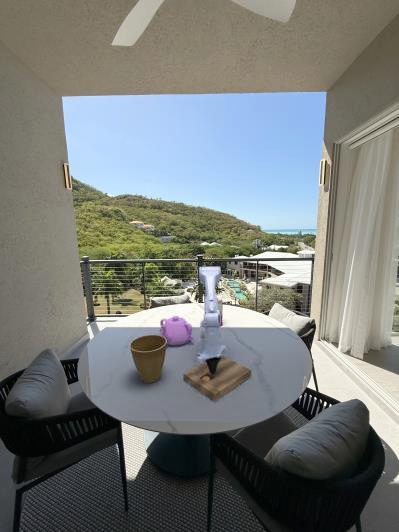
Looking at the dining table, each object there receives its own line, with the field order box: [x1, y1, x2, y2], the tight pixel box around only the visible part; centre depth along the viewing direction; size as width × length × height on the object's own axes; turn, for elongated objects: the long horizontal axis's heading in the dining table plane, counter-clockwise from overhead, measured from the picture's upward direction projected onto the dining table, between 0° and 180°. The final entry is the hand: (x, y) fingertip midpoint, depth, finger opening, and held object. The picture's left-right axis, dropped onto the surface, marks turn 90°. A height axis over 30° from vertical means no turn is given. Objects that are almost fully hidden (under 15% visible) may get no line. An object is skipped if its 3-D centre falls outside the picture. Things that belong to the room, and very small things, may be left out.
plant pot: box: [129, 334, 168, 384], centre depth 106 cm, size 15×15×16 cm
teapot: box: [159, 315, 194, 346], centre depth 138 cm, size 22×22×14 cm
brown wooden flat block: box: [182, 355, 252, 402], centre depth 106 cm, size 18×22×3 cm
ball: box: [202, 376, 211, 383], centre depth 102 cm, size 4×4×4 cm
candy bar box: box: [218, 298, 224, 327], centre depth 160 cm, size 11×5×16 cm, turn 92°
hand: (212, 372), depth 104 cm, fingers closed
